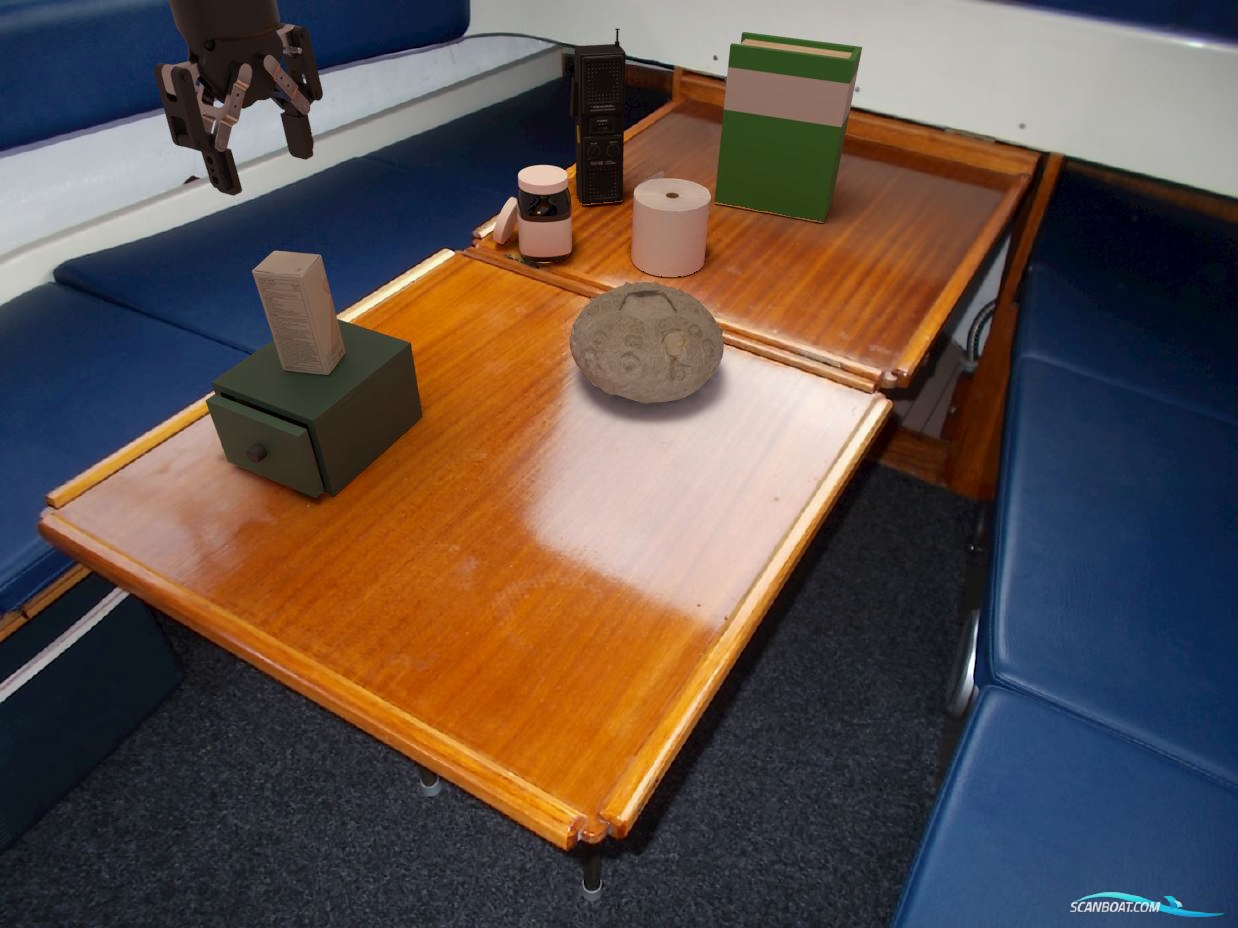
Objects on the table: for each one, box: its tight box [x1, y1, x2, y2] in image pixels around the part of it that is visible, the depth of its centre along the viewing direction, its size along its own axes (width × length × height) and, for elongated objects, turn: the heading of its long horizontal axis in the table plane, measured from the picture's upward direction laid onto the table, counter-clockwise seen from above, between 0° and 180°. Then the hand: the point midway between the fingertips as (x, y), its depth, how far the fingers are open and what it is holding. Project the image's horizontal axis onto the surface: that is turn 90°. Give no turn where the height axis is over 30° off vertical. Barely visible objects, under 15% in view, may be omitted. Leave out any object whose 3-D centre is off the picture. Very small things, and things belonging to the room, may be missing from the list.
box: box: [251, 250, 346, 375], centre depth 83 cm, size 5×4×11 cm
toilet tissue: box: [630, 169, 712, 278], centre depth 121 cm, size 11×12×10 cm
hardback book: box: [713, 31, 863, 222], centre depth 131 cm, size 18×7×24 cm, turn 69°
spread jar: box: [492, 164, 573, 263], centre depth 122 cm, size 12×11×12 cm
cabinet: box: [210, 318, 424, 498], centre depth 90 cm, size 15×13×10 cm
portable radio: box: [569, 28, 627, 204], centre depth 131 cm, size 8×6×25 cm
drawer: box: [205, 393, 324, 499], centre depth 88 cm, size 15×12×8 cm
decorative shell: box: [569, 280, 725, 405], centre depth 99 cm, size 18×18×10 cm
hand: (267, 174), depth 74 cm, fingers open, 8 cm apart
